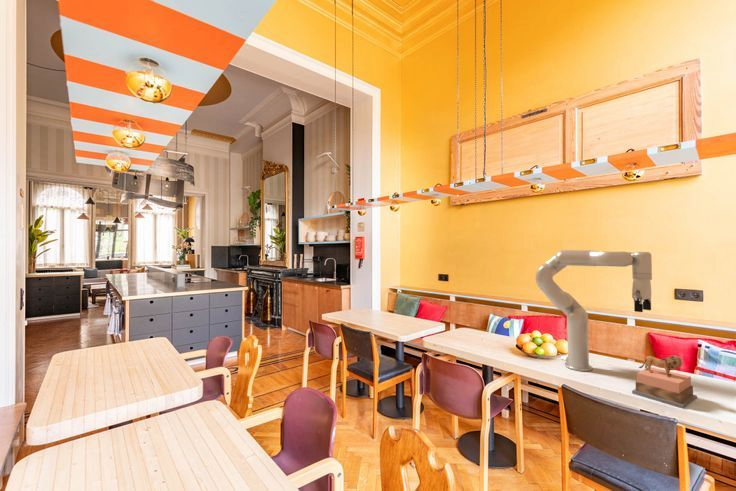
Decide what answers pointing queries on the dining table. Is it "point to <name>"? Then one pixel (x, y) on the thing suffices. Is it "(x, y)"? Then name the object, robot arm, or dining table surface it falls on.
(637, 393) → the baseplate
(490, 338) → the dining table surface
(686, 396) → the brown flat block
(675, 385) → the top brick
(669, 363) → the lion figurine
